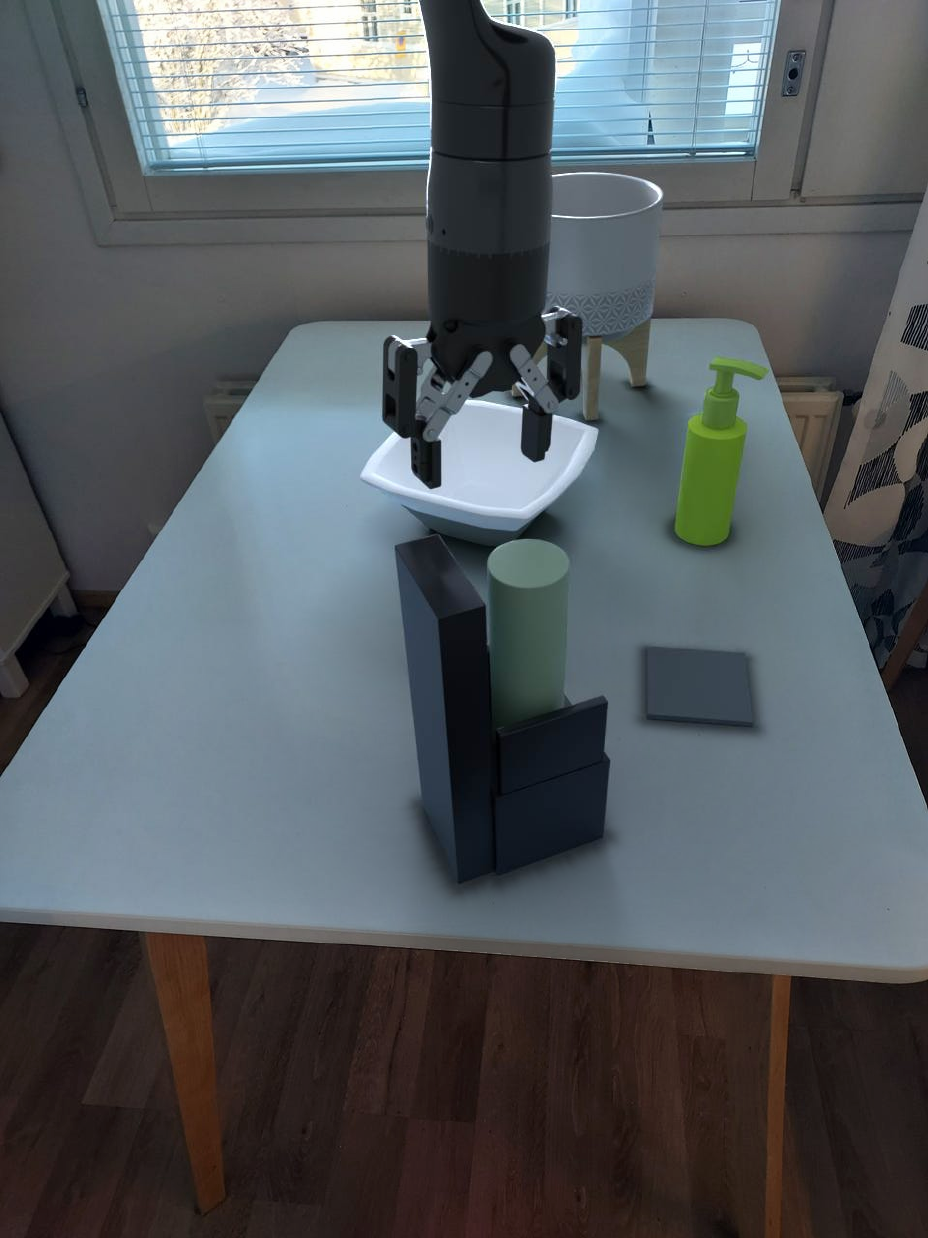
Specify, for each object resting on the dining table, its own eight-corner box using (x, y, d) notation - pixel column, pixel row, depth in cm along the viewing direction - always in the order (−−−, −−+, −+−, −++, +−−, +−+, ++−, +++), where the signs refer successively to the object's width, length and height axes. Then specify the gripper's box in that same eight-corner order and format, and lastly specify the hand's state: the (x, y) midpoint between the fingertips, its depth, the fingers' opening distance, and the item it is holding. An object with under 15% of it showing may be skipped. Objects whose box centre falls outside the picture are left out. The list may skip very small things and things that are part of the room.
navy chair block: (553, 756, 79) (561, 497, 62) (603, 837, 72) (627, 570, 56) (420, 801, 76) (391, 540, 59) (460, 889, 69) (440, 624, 53)
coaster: (752, 726, 81) (753, 722, 80) (647, 718, 82) (647, 714, 81) (744, 657, 87) (744, 652, 87) (646, 650, 89) (647, 646, 88)
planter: (503, 365, 138) (500, 178, 121) (628, 355, 139) (642, 167, 122) (521, 426, 123) (521, 222, 107) (661, 414, 124) (682, 211, 108)
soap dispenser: (727, 554, 100) (757, 381, 87) (666, 536, 103) (687, 366, 90) (745, 526, 104) (776, 357, 91) (686, 510, 106) (708, 344, 94)
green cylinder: (560, 765, 66) (567, 590, 56) (488, 759, 67) (481, 585, 57) (564, 713, 70) (572, 540, 60) (496, 708, 71) (492, 536, 61)
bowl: (536, 595, 96) (537, 527, 90) (349, 543, 104) (340, 478, 99) (611, 489, 110) (616, 426, 105) (442, 451, 119) (438, 390, 114)
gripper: (413, 262, 51) (418, 518, 61) (620, 231, 57) (594, 469, 66) (356, 230, 56) (369, 471, 66) (551, 205, 62) (536, 429, 72)
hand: (482, 470), depth 66 cm, fingers open, 8 cm apart
